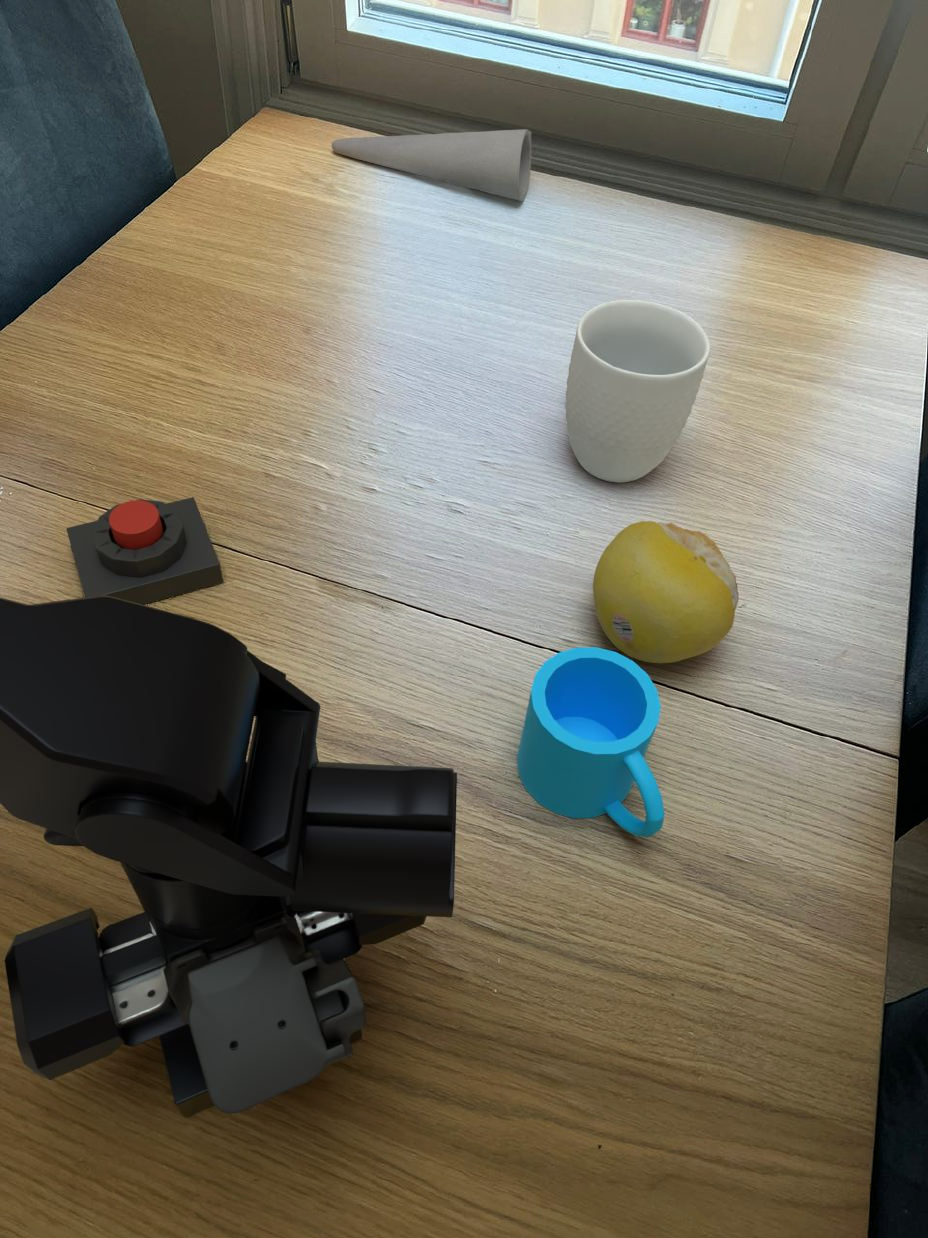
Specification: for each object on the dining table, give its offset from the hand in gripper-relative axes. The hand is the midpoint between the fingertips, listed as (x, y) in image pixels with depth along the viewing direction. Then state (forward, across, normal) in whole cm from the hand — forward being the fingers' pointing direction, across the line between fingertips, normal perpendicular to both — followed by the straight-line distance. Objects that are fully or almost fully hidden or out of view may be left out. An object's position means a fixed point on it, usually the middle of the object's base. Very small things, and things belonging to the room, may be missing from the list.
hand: (247, 987), depth 50 cm
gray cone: (+4, +48, +89) cm, 101 cm away
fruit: (+4, +36, +15) cm, 39 cm away
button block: (+4, +2, +36) cm, 36 cm away
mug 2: (+4, +25, +5) cm, 26 cm away
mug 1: (+4, +44, +35) cm, 56 cm away
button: (0, +2, +36) cm, 36 cm away
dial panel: (+4, 0, 0) cm, 4 cm away
